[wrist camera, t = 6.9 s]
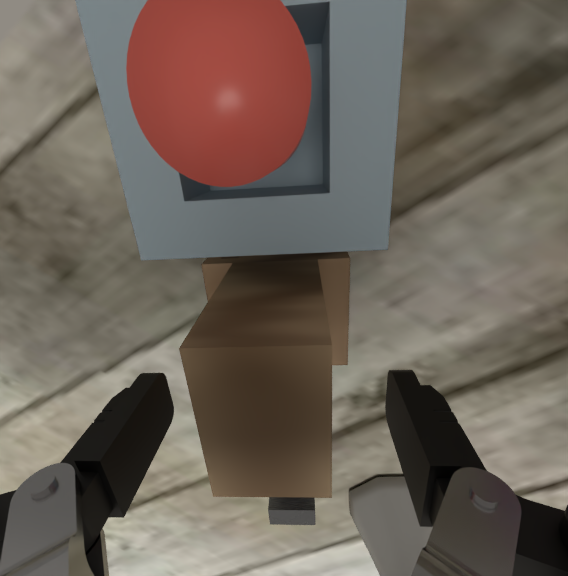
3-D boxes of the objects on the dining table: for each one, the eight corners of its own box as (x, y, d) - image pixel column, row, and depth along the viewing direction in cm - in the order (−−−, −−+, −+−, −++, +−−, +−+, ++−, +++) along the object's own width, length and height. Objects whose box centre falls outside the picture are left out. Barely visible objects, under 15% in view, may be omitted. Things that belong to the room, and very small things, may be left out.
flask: (335, 483, 26) (354, 661, 17) (420, 463, 25) (491, 645, 15) (362, 532, 29) (392, 711, 19) (441, 516, 27) (513, 700, 18)
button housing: (354, 27, 14) (415, -117, 6) (349, 208, 17) (387, 249, 10) (180, 43, 14) (56, -73, 7) (207, 216, 18) (141, 260, 10)
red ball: (305, 30, 7) (308, -45, 5) (309, 173, 9) (313, 181, 6) (174, 42, 8) (102, -23, 5) (196, 179, 9) (150, 191, 6)
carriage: (341, 240, 17) (391, 343, 8) (340, 333, 19) (377, 497, 10) (217, 246, 18) (124, 349, 8) (231, 336, 20) (170, 496, 11)
